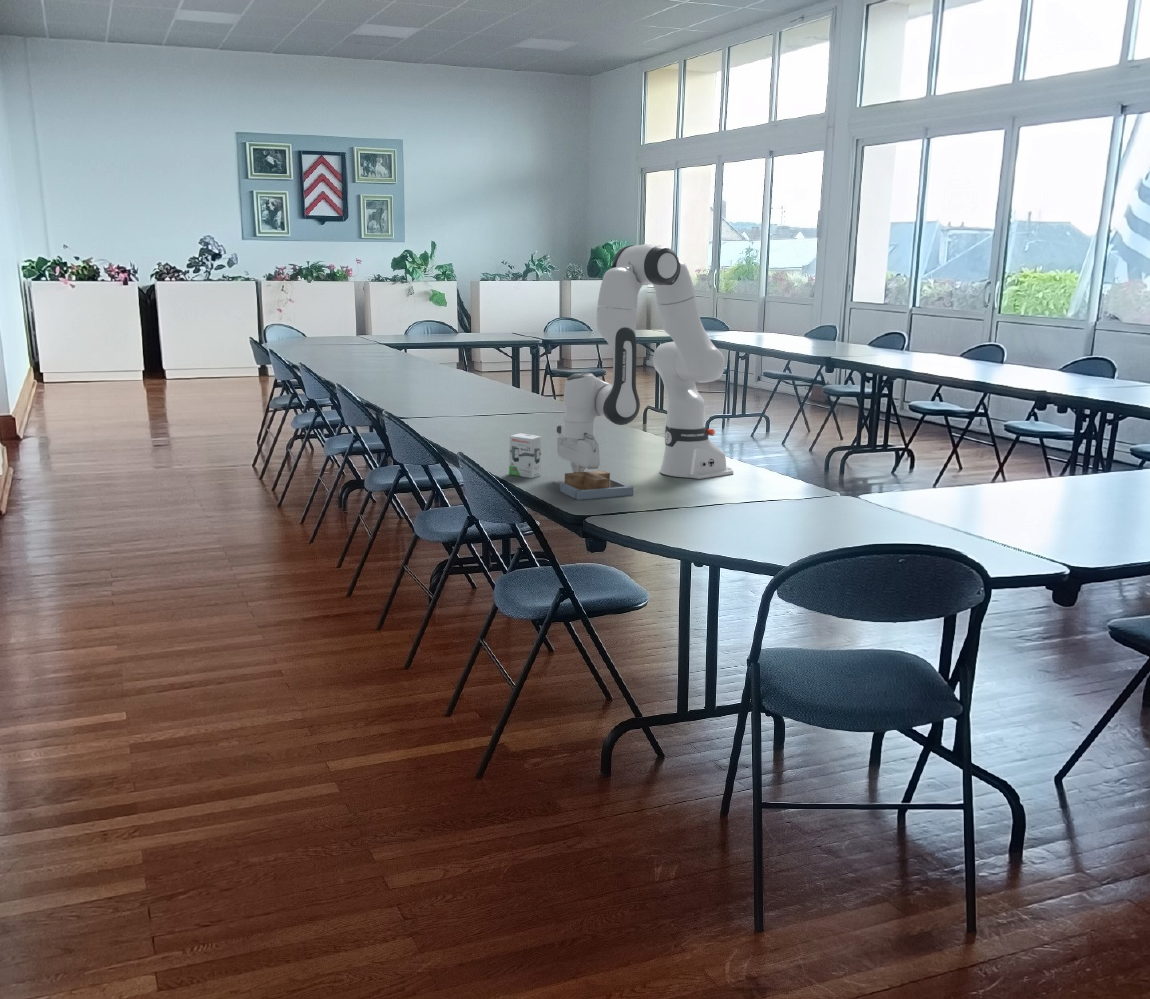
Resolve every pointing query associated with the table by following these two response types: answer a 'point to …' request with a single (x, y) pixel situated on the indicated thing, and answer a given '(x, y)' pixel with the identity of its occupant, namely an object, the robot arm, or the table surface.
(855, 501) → the table surface
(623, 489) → the bay fence
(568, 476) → the t block
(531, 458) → the ink box
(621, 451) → the table surface
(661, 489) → the table surface
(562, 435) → the robot arm
